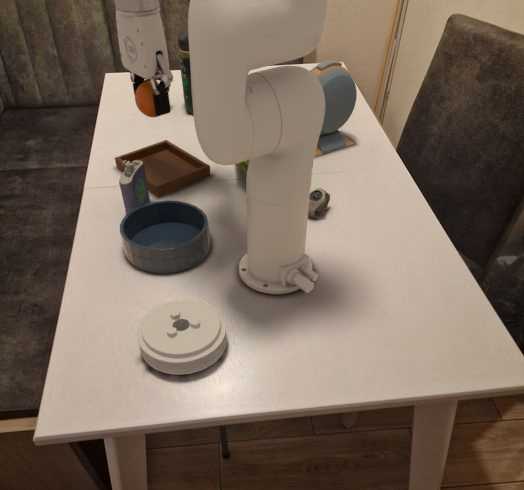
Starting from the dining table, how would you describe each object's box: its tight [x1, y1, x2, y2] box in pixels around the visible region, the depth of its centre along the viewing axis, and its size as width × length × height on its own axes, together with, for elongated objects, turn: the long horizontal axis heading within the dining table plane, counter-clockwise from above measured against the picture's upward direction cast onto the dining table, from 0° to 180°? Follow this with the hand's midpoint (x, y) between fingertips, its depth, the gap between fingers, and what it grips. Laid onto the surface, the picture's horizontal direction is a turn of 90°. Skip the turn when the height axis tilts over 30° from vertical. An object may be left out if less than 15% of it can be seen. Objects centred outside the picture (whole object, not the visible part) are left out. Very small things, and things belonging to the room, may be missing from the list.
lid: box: [136, 298, 228, 376], centre depth 70 cm, size 13×13×5 cm
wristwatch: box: [308, 187, 331, 219], centre depth 94 cm, size 4×6×5 cm, turn 143°
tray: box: [114, 139, 212, 198], centre depth 106 cm, size 17×14×2 cm
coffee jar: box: [177, 25, 193, 114], centre depth 124 cm, size 10×8×19 cm
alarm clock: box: [309, 59, 358, 158], centre depth 110 cm, size 14×10×18 cm
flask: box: [118, 160, 151, 216], centre depth 91 cm, size 9×3×11 cm, turn 172°
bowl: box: [119, 199, 211, 275], centre depth 86 cm, size 15×15×5 cm
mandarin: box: [134, 81, 159, 118], centre depth 96 cm, size 6×6×6 cm
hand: (153, 107), depth 97 cm, fingers closed on mandarin, 6 cm apart
